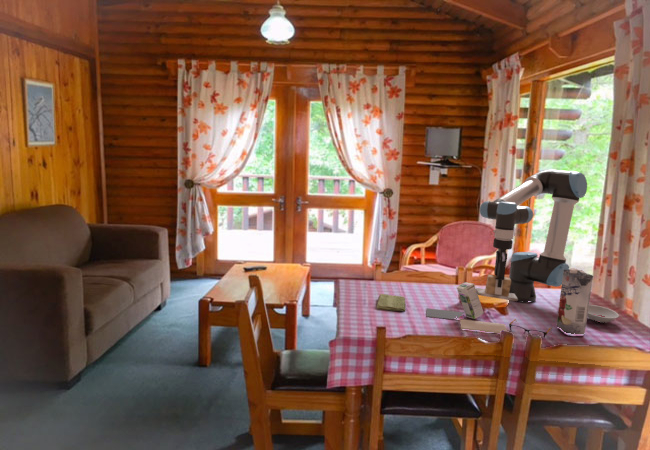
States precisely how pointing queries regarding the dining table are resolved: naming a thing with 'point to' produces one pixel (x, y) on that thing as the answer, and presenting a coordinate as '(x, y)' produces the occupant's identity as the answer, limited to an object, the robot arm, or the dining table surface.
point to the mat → (442, 314)
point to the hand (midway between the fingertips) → (497, 292)
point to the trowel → (490, 289)
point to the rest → (482, 326)
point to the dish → (601, 313)
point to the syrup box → (470, 300)
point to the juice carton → (574, 301)
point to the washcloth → (391, 302)
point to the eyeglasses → (526, 329)
